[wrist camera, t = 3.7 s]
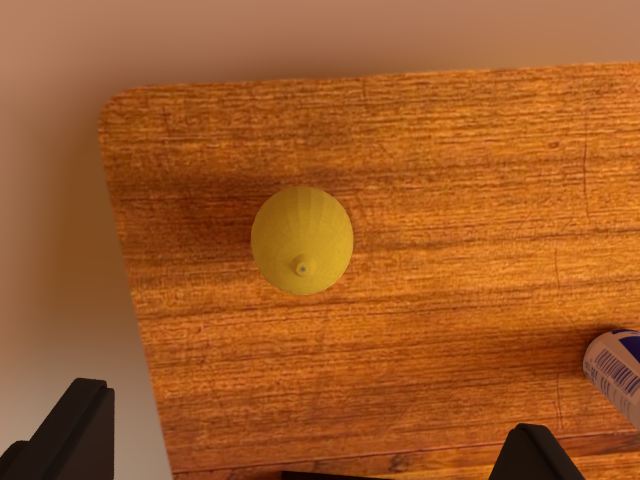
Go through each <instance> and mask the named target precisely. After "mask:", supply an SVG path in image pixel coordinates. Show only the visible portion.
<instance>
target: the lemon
mask: <svg viewBox="0 0 640 480" xmlns="http://www.w3.org/2000/svg"><path fill="white" fill-rule="evenodd" d="M251 248H252V253H253V257H254V261H255V263H256V265H257V267H258V268H259V270H260V272H261V274H262V275H263V276H264V277H265V278H266V279H267V281H268V282H269V283H271V284H272V285H274V286H275V287H277V288H278V289H280V290H282V291H285V292H287V293H290V294H297V295H308V294H314V293H317V292H320V291H323V290H325V289H327V288H328V287H330V286H331V285H333V284H334V283H335V282H336V281H337V280H338V279H339V278H340V277H341V276H342V275H343V273H344V271H345V269H346V268H347V266H348V264H349V261H350V258H351V254H352V251H353V230H352V227H351V223H350V219H349V217H348V215H347V213H346V212H345V210H344V208H343V206H342V205H341V204H340V203H339V202H338V201H337V200H336V199H335V198H334V197H333V196H331V195H329V194H328V193H326V192H324V191H323V190H321V189H317V188H314V187H310V186H294V187H290V188H285V189H283V190H281V191H279V192H277V193H275V194H274V195H273V196H271V197H270V198H269V199H268V200H267V201H266V202H265V203H264V204H263V205H262V207H261V208H260V210H259V211H258V213H257V214H256V217H255V220H254V223H253V226H252V230H251Z"/></svg>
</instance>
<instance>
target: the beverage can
mask: <svg viewBox="0 0 640 480" xmlns="http://www.w3.org/2000/svg"><path fill="white" fill-rule="evenodd" d="M583 370H584V373H585V375H586V377H587V378H588V379H589V380H590V382H591V383H592V384H593V385H594V386H595V387H596V388H597V389H598V390H599V391H600V392H601V393H602V394H603V395H604V396H605V397H606V398H607V399H608V400H609V401H610V402H611V403H612V404H613V405H614V406H615V407H616V408H617V409H618V410H619V411H620V412H621V413H622V414H623V415H624V416H625V417H626V418H627V419H628V420H629V421H630V422H631V423H632V425H633V426H634V427H635V428H636V429H637V430H638V431H639V432H640V332H637V331H634V330H628V329H623V330H616V331H610V332H607V333H604V334H602V335H600V336H598V337H597V338H596V339H594V340H593V341H592V342H591V343H590V344H589V346H588V348H587V350H586V352H585V356H584V360H583Z"/></svg>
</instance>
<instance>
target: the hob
mask: <svg viewBox="0 0 640 480" xmlns="http://www.w3.org/2000/svg"><path fill="white" fill-rule="evenodd" d="M280 480H388V479H376V478H363V477H351V476H338V475H326V474H313V473H301V472H289V471H282V473H281V478H280Z"/></svg>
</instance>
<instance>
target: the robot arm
mask: <svg viewBox="0 0 640 480" xmlns="http://www.w3.org/2000/svg"><path fill="white" fill-rule="evenodd" d="M114 400H115V394H114V389H112V388H107V383H106V381H104V380H96V379H86V378H77V379H75V380H74V381H73V382H72V383H71V385H70V386H69V388H68V389H67V390H66V392H65V393H64V394H63V396H62V397H61V398H60V400H59V401H58V402H57V404H56V405H55V406H54V408H53V409H52V410H51V412H50V413H49V415H48V416H47V417H46V419H45V420H44V421H43V423H42V424H41V425H40V427H39V428H38V429H37V431H36V432H35V433H34V435H33V436H32V438H31V439H30V440H29V441H22V440H21V441H16V442H15V443H13V444H12V445H11V446H10V447H9V448H8V449H7V450H6V451H5V452H4V453H3V455H2V456H1V457H0V480H113V479H114ZM488 480H585V478H584V477H583V476H582V474H581V473H580V472H579V470H578V469H577V467H576V466H575V465H574V463H573V462H572V461H571V459H570V458H569V456H568V455H567V454H566V452H565V451H564V450H563V448H562V447H561V445H560V444H559V443H558V441H557V440H556V439H555V437H554V436H553V434H552V433H551V432H550V430H549V429H548V428H547V427H545V426H543V425H534V424H525V423H519V424H518V425H517V426H516V427H515V429H512V430H510V432H509V434H508V436H507V438H506V441H505V443H504V445H503V447H502V450H501V452H500V454H499V456H498V459H497V461H496V463H495V465H494V468H493V470H492V472H491V475H490V477H489V479H488Z"/></svg>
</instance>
